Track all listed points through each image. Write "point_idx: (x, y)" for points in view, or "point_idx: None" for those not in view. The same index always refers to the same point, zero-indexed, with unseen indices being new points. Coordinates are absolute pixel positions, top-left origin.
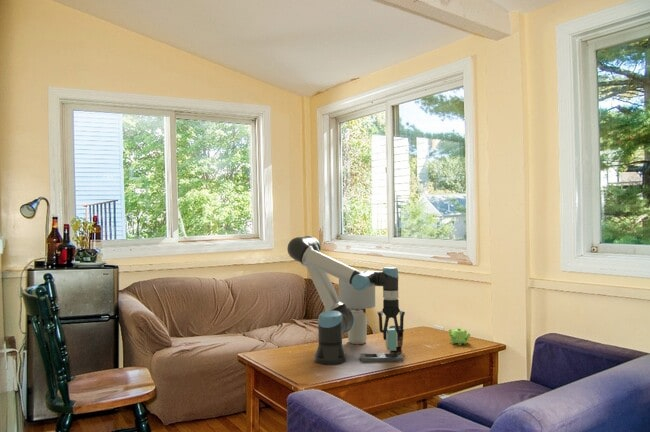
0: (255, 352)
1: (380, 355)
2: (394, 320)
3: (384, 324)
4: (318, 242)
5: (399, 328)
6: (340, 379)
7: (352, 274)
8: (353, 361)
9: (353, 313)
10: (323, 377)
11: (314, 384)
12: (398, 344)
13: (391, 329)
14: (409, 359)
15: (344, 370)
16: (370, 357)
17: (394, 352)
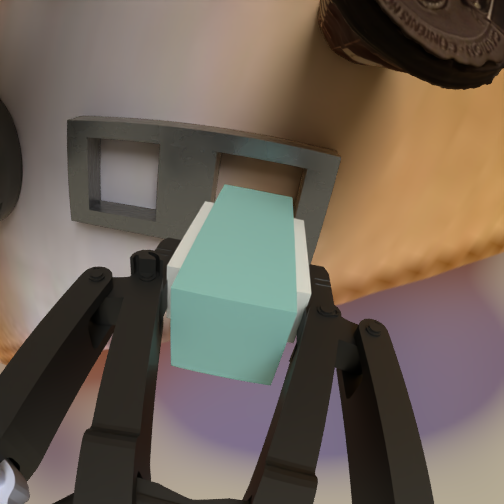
0: None
1: (179, 188)
2: (254, 474)
3: (111, 349)
4: None
5: (474, 60)
6: None
7: None
8: (49, 184)
9: None
10: (5, 323)
11: (6, 352)
12: (384, 67)
13: (223, 353)
14: (365, 223)
15: (34, 291)
16: (113, 216)
17: (338, 54)
